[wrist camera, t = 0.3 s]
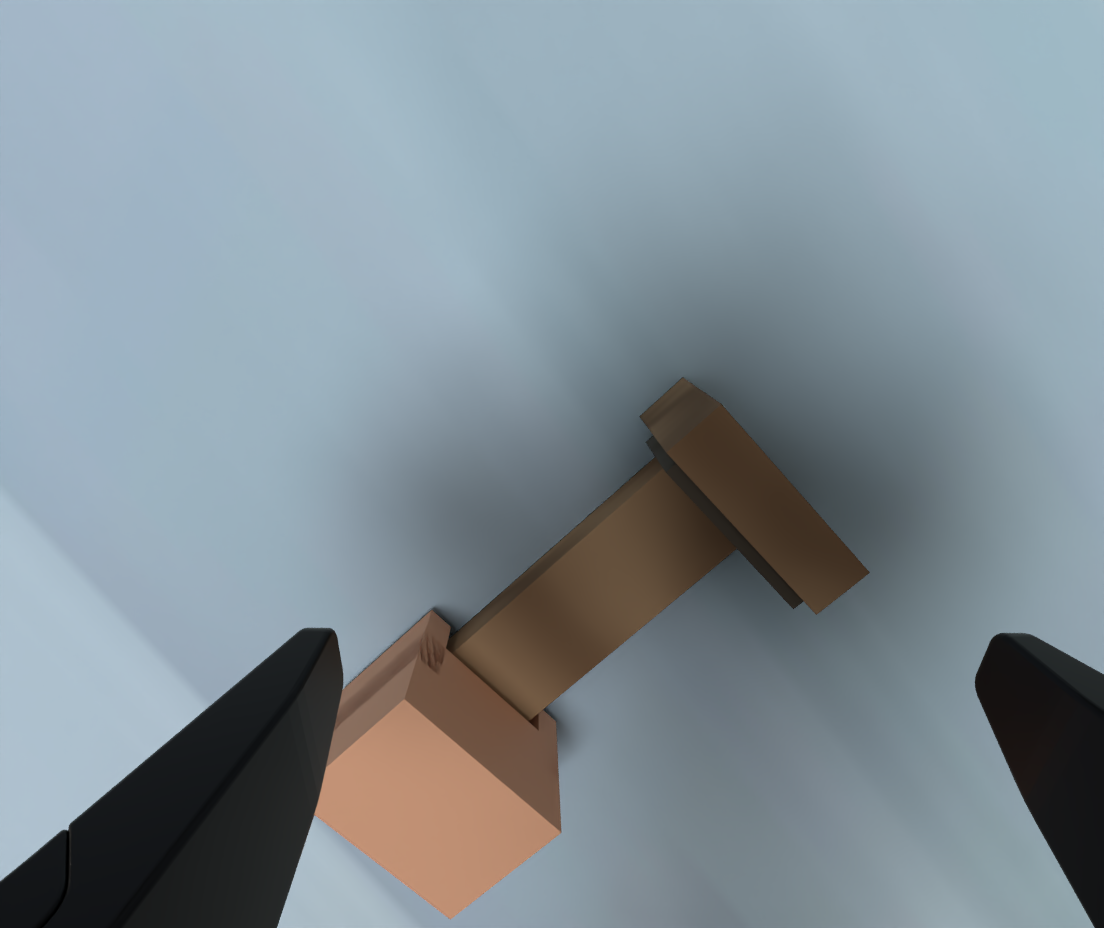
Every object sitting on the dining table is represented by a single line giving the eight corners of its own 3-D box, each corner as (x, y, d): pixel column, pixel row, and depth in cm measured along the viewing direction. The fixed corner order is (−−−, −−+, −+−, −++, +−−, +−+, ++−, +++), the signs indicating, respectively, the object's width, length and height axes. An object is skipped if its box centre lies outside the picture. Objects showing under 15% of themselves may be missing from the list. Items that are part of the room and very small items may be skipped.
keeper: (466, 795, 27) (450, 919, 22) (341, 690, 26) (292, 797, 21) (556, 721, 27) (561, 832, 21) (431, 609, 25) (404, 699, 20)
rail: (426, 825, 28) (404, 939, 23) (299, 723, 27) (247, 821, 22) (804, 514, 25) (869, 572, 20) (683, 377, 23) (721, 404, 19)
